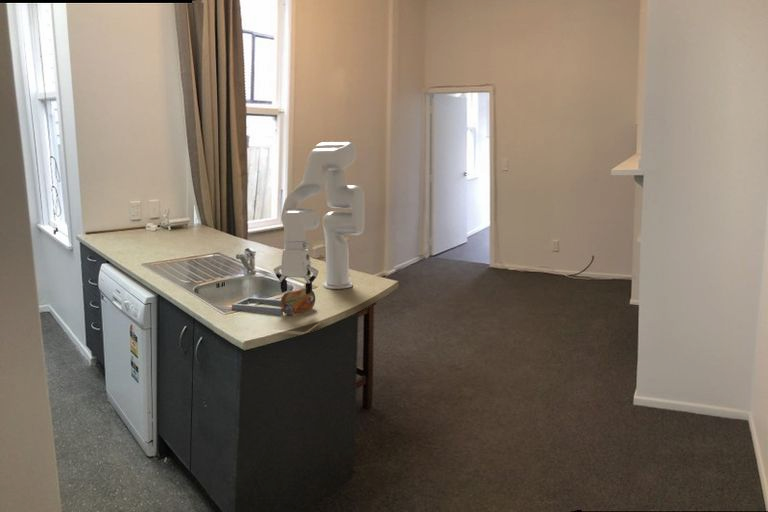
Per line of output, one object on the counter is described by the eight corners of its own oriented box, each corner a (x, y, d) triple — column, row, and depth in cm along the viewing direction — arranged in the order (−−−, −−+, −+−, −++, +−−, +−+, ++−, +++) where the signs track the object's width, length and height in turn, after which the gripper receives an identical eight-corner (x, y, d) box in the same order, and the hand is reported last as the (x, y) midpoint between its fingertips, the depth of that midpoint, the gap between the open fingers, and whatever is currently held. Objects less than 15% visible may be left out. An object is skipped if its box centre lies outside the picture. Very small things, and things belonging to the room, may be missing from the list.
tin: (285, 317, 206) (284, 294, 204) (279, 316, 208) (278, 293, 206) (316, 308, 217) (315, 286, 216) (310, 307, 219) (309, 285, 218)
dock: (248, 303, 225) (248, 297, 225) (295, 307, 219) (295, 301, 218) (232, 311, 214) (231, 304, 214) (281, 315, 208) (281, 308, 208)
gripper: (321, 245, 209) (322, 292, 212) (278, 243, 214) (279, 289, 217) (312, 248, 202) (313, 296, 205) (268, 246, 207) (269, 293, 210)
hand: (296, 292), depth 211 cm, fingers open, 9 cm apart
